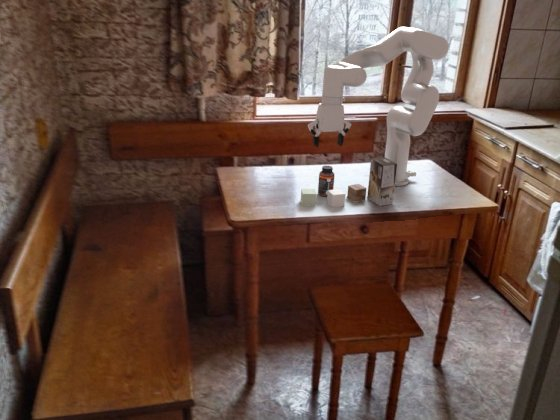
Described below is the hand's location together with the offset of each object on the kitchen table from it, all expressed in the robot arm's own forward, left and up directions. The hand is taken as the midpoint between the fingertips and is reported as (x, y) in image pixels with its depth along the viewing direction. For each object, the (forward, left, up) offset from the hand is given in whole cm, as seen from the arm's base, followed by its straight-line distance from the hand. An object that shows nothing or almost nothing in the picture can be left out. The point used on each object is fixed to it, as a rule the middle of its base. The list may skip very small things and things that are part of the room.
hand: (328, 145), depth 209 cm
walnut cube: (-10, +7, -20) cm, 24 cm away
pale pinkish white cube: (0, +10, -20) cm, 22 cm away
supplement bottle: (0, 0, -20) cm, 20 cm away
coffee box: (-18, +11, -20) cm, 29 cm away
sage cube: (+10, +7, -20) cm, 23 cm away
